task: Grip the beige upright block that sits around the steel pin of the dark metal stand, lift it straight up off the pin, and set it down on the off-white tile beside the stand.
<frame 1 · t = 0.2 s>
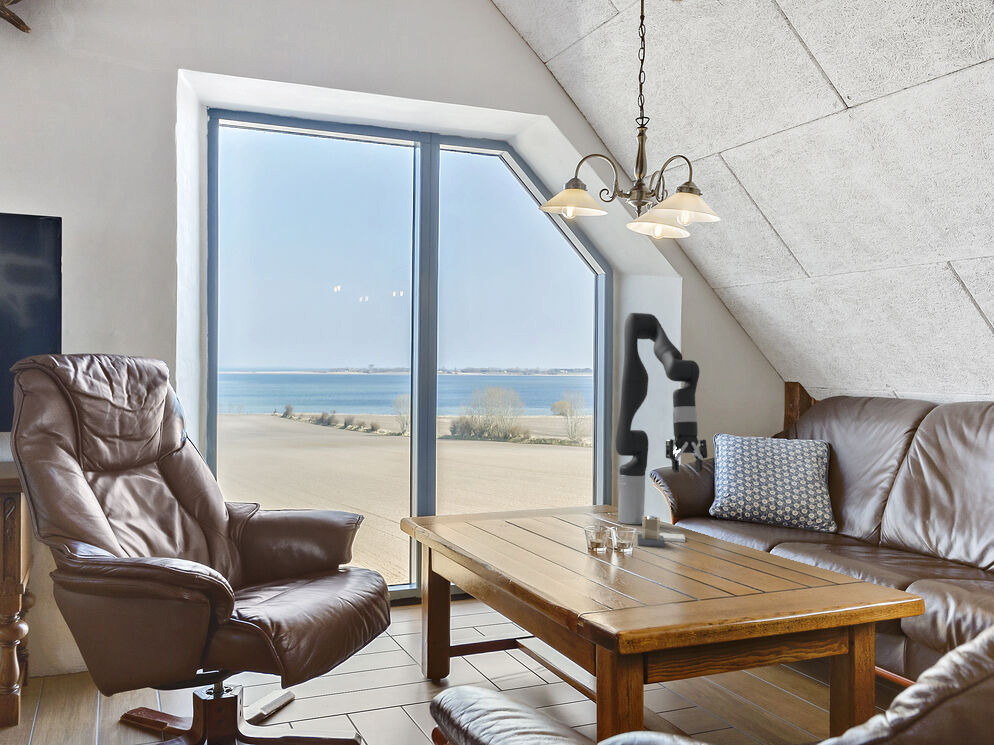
hand: (687, 472, 263), 22 cm above the table, fingers open, 8 cm apart
tile: (671, 538, 267), on the table
beige upright block: (650, 537, 258), point 2 cm above the table, touching pin stand
pin stand: (650, 543, 258), on the table
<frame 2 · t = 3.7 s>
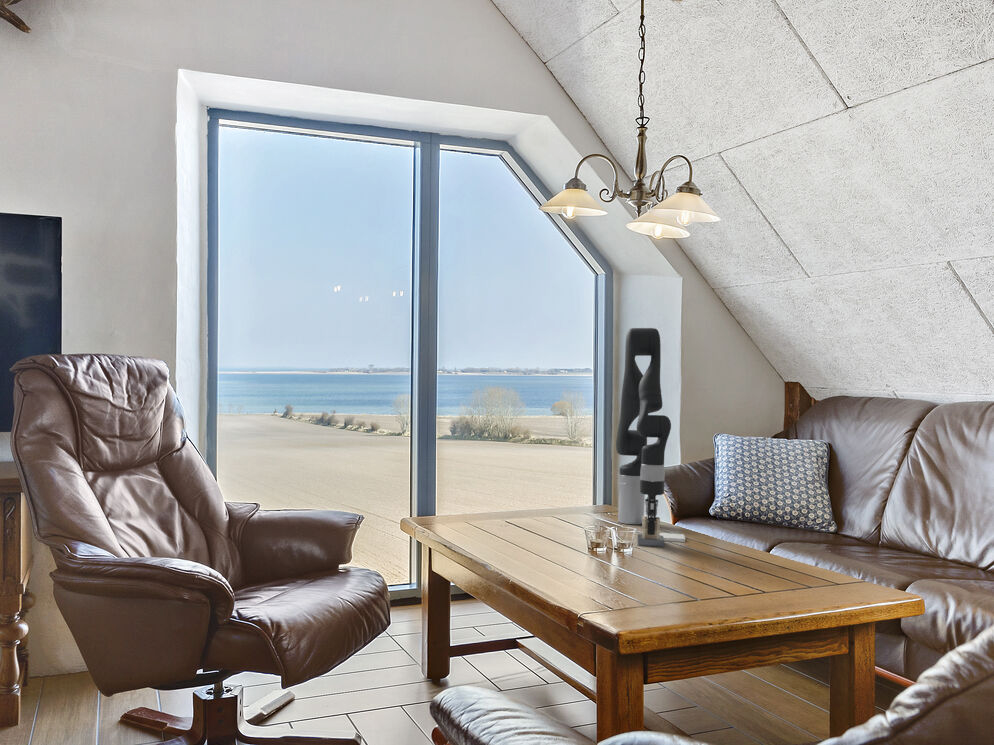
hand: (650, 532, 258), 3 cm above the table, fingers closed on beige upright block, 5 cm apart
beige upright block: (650, 537, 258), point 2 cm above the table, touching gripper, pin stand
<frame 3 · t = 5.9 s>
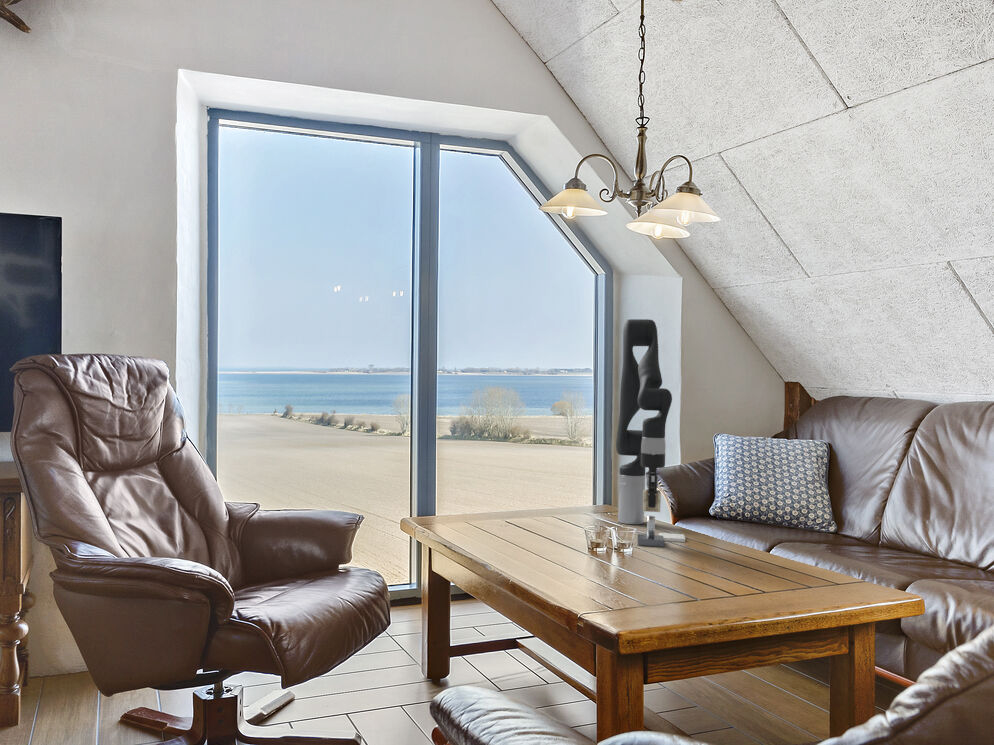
hand: (651, 505, 258), 12 cm above the table, fingers closed on beige upright block, 5 cm apart
beige upright block: (651, 510, 258), point 10 cm above the table, touching gripper
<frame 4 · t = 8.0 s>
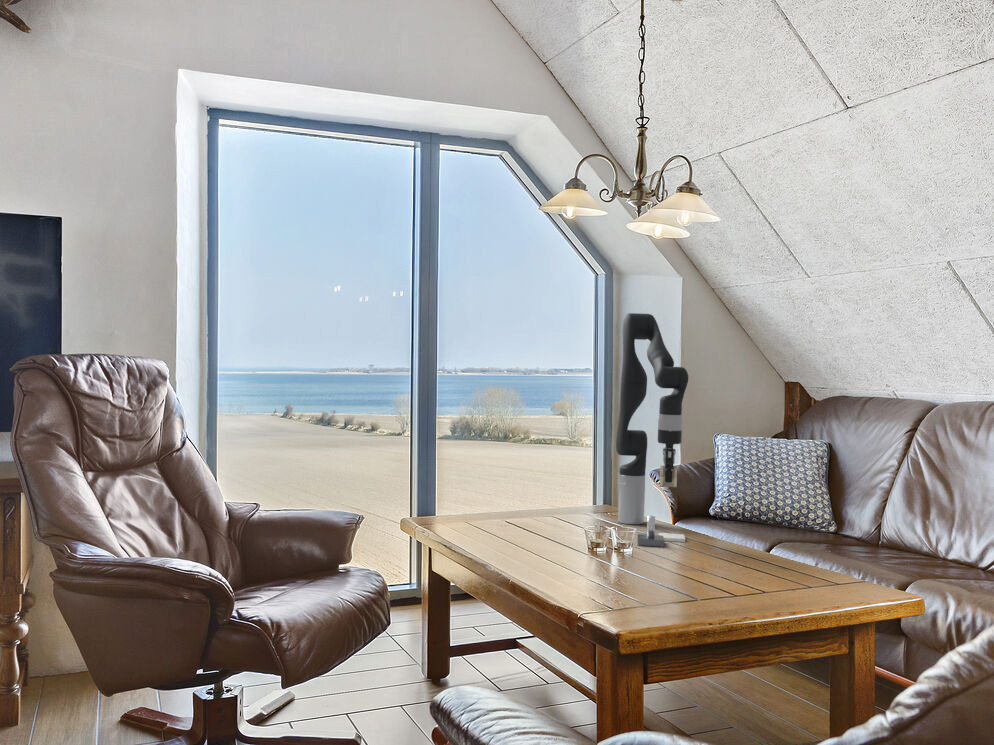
hand: (668, 480, 266), 19 cm above the table, fingers closed on beige upright block, 5 cm apart
beige upright block: (668, 485, 266), point 17 cm above the table, touching gripper
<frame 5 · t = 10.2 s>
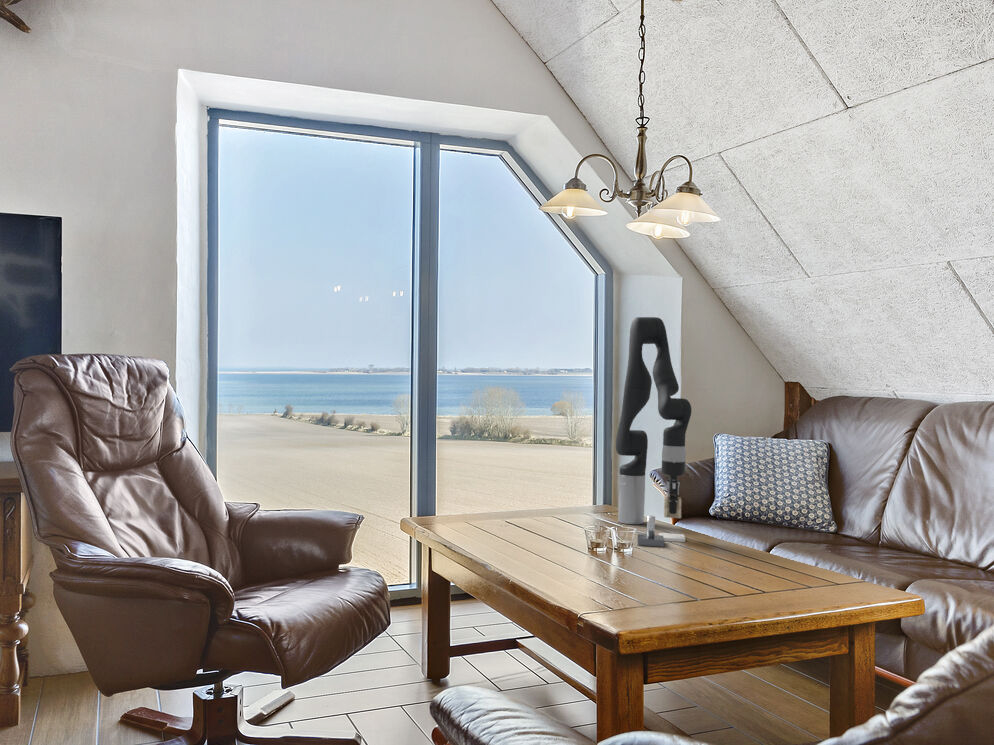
hand: (672, 512, 267), 9 cm above the table, fingers closed on beige upright block, 5 cm apart
beige upright block: (672, 516, 267), point 7 cm above the table, touching gripper
when the fingers open (4 cm above the table, at t = 12.1 s): beige upright block drops 1 cm, resting on tile.
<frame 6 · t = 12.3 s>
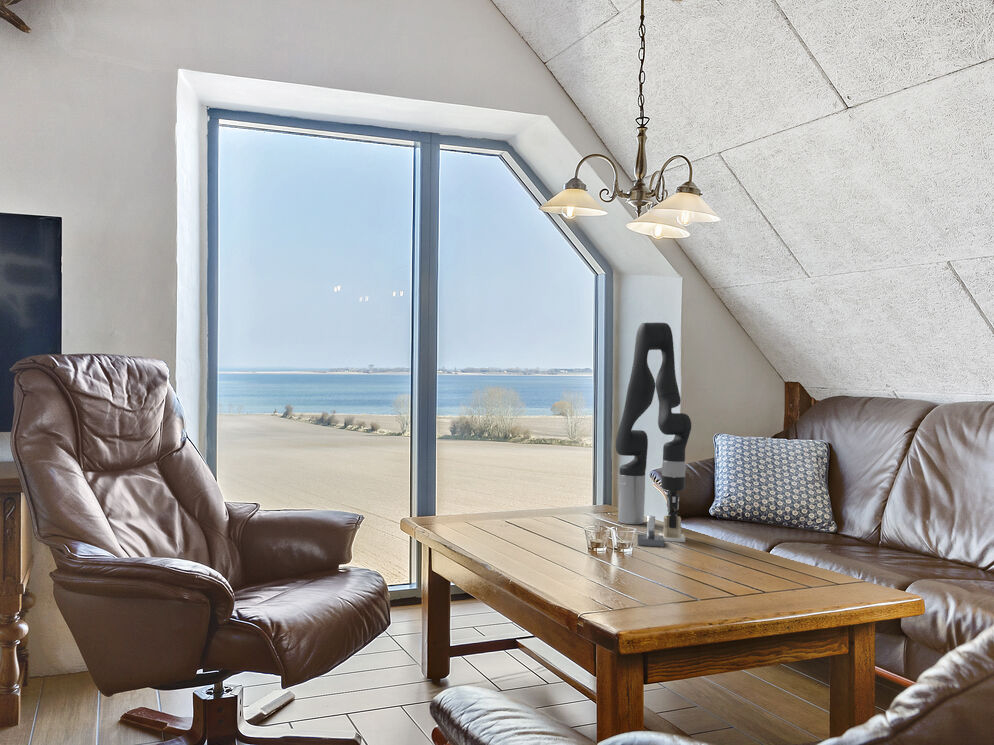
hand: (672, 525, 267), 4 cm above the table, fingers open, 7 cm apart
beige upright block: (671, 535, 267), point 1 cm above the table, touching tile
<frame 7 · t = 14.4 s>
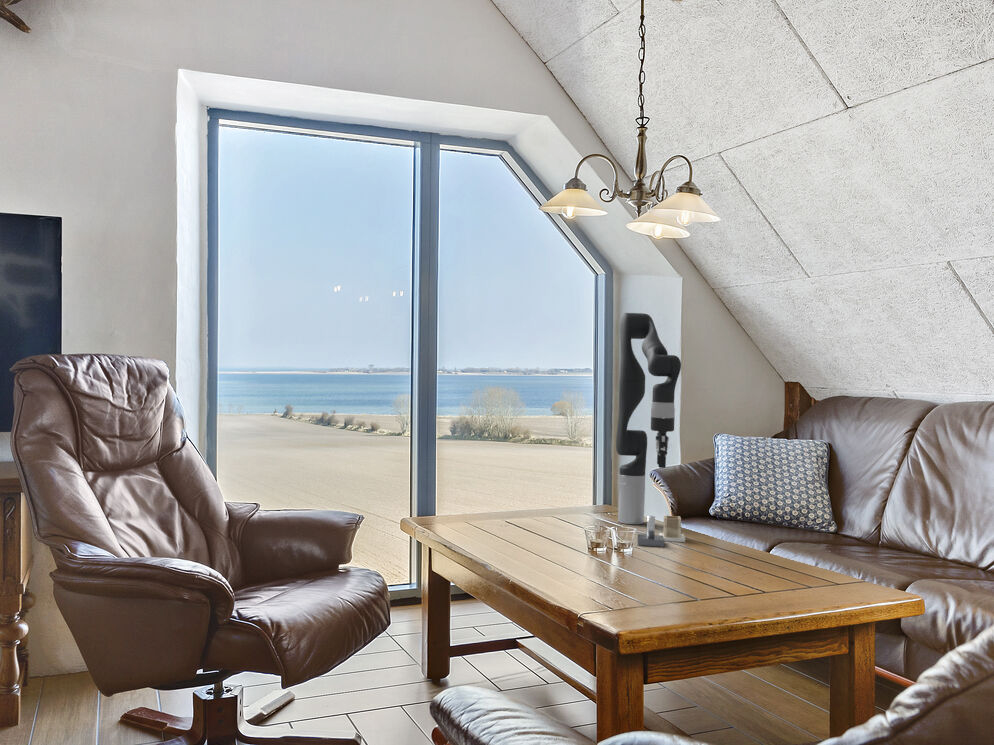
hand: (661, 466, 268), 23 cm above the table, fingers open, 8 cm apart
nothing on the table moved.
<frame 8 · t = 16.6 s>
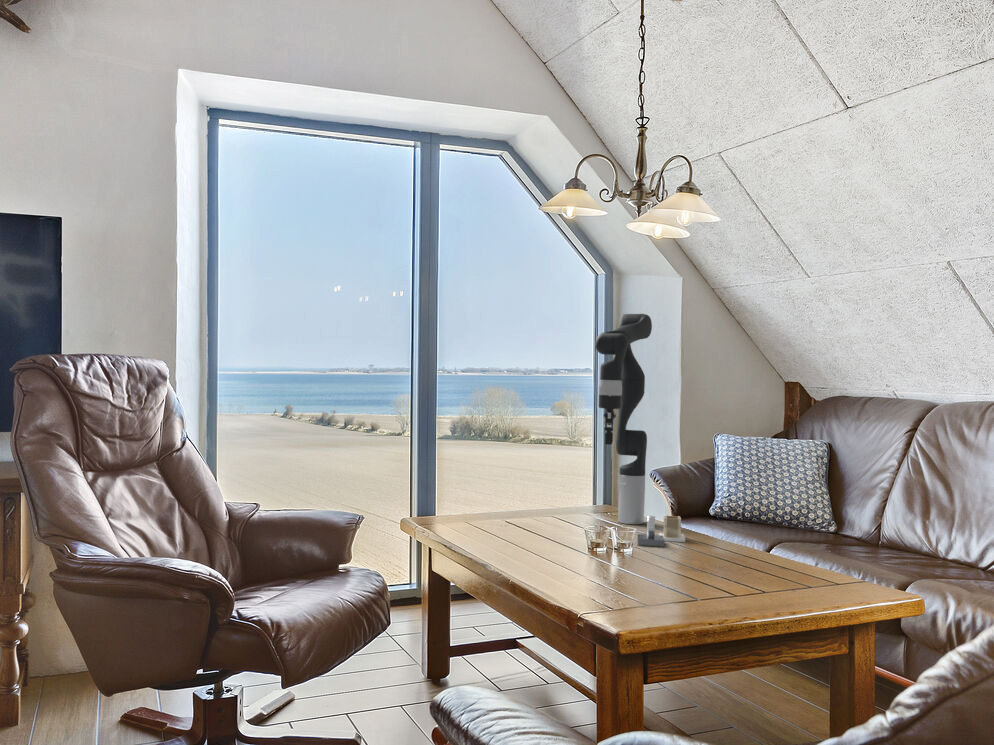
hand: (608, 443, 270), 30 cm above the table, fingers open, 8 cm apart
nothing on the table moved.
at the end: beige upright block 0.1 cm off-centre on the tile, point 1.0 cm above the tile's base; beige upright block tilted 0°; beige upright block touching tile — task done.
